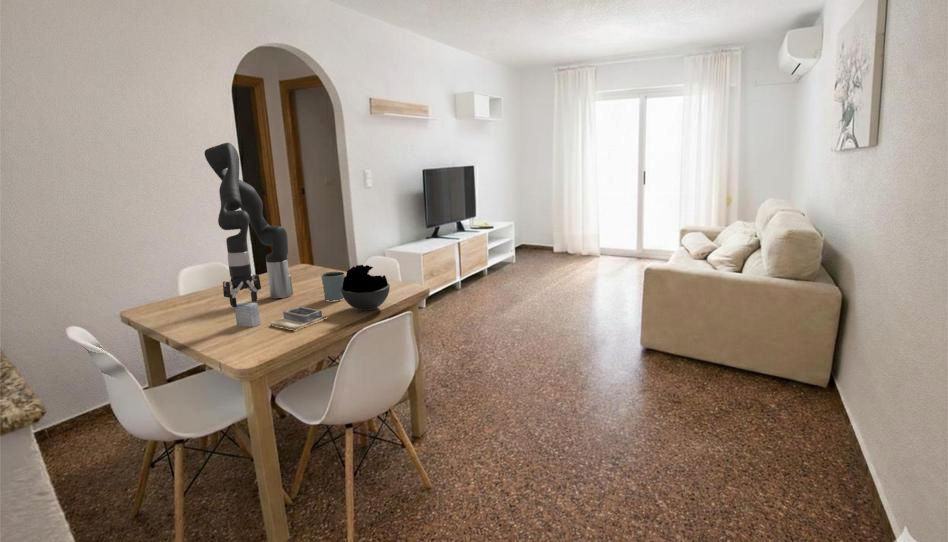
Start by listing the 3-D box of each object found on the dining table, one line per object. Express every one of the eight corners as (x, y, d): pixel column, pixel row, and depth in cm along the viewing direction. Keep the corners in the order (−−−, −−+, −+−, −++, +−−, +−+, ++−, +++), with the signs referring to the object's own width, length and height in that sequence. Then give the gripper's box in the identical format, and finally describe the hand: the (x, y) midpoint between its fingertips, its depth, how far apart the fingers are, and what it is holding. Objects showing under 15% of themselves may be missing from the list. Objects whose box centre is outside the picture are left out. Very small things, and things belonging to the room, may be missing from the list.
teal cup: (319, 301, 223) (316, 275, 220) (333, 295, 232) (330, 270, 229) (337, 303, 219) (335, 277, 216) (351, 297, 228) (349, 272, 225)
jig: (303, 314, 205) (302, 305, 204) (327, 319, 198) (326, 309, 197) (270, 325, 192) (269, 316, 191) (295, 331, 185) (294, 321, 184)
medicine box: (261, 324, 194) (258, 302, 192) (252, 327, 190) (249, 306, 188) (245, 322, 197) (242, 301, 195) (236, 325, 193) (233, 304, 191)
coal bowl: (368, 299, 223) (365, 259, 219) (400, 306, 212) (398, 264, 208) (332, 311, 207) (328, 268, 203) (365, 320, 196) (362, 274, 192)
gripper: (249, 259, 196) (254, 298, 199) (215, 265, 184) (221, 307, 187) (262, 260, 192) (266, 300, 195) (228, 267, 180) (233, 310, 184)
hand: (244, 304), depth 191 cm, fingers open, 8 cm apart
